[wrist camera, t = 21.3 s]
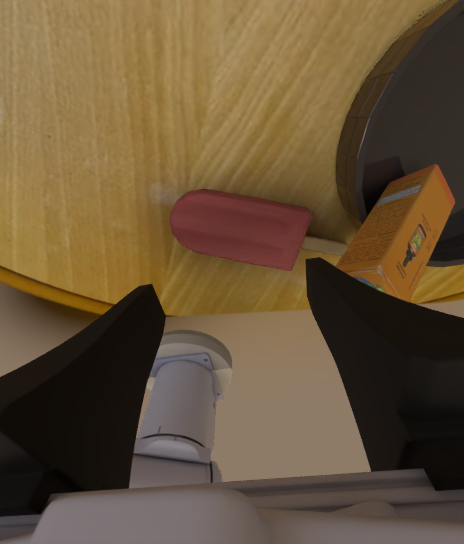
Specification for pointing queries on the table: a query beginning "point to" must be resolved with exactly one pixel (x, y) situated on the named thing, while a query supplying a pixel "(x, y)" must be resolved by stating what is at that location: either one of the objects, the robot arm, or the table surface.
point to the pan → (410, 124)
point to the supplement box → (400, 233)
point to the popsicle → (246, 229)
